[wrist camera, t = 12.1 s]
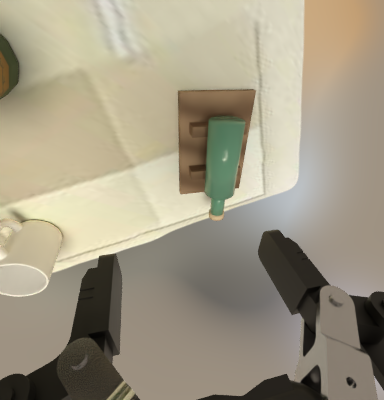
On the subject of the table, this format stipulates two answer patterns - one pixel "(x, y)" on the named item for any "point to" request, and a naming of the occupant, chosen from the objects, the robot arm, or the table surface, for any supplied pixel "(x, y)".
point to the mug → (28, 256)
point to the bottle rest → (198, 130)
